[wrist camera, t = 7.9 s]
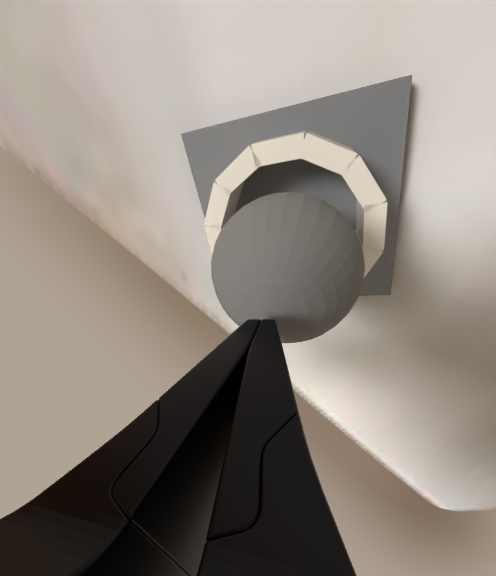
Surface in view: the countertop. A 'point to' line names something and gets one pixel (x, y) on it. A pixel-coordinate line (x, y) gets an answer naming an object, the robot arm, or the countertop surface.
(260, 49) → the countertop surface
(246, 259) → the light bulb
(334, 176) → the socket
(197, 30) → the countertop surface
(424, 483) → the countertop surface
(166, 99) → the countertop surface
